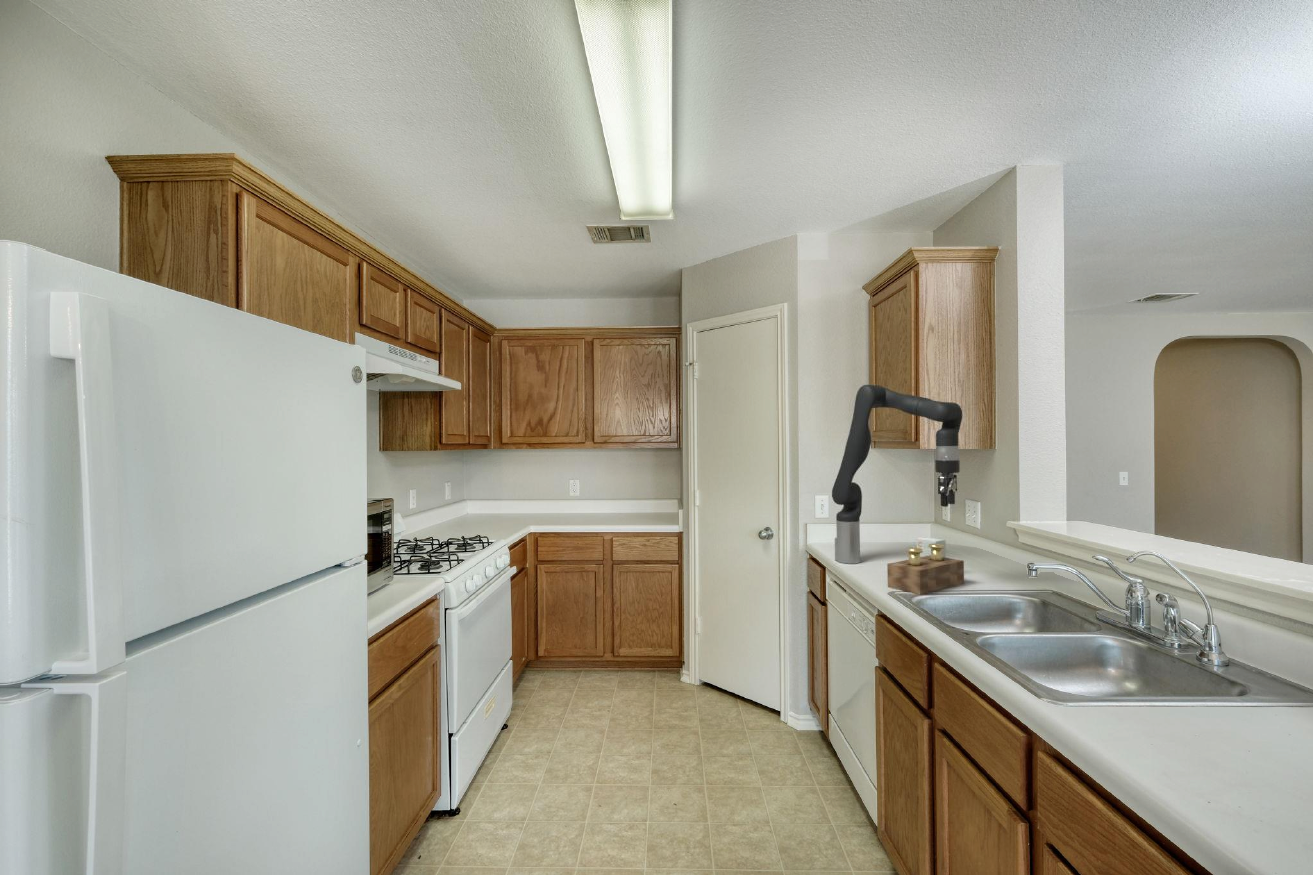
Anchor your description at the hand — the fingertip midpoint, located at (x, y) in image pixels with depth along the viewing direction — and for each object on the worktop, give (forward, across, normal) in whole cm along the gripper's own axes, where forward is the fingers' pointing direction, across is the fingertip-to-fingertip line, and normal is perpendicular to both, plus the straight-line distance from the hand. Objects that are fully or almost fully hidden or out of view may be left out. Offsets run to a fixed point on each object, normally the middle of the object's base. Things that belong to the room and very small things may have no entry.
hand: (947, 505), depth 190 cm
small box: (+28, -14, -10) cm, 33 cm away
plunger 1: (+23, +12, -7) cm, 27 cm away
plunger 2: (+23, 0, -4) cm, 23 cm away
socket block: (+28, +6, -6) cm, 29 cm away
